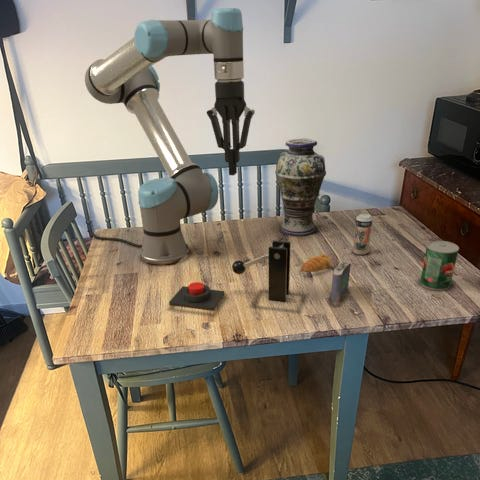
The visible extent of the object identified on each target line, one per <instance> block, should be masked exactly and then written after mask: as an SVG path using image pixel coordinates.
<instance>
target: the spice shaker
mask: <svg viewBox="0 0 480 480" xmlns="http://www.w3.org/2000/svg"><path fill="white" fill-rule="evenodd" d="M372 226H373V218H372V215H371V214H368V213H359V214H358V215H357V216H356V217H355V226H354V227H355V228H354V236H353V237H354V238H353V246H352V252H353V253H354V254H356V255H358V256H359V255H360V256H363V255H364V256H365V255H366V254H368V253H369V250H370V242H371V235H372V234H371V233H372Z"/></svg>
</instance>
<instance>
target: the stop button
mask: <svg viewBox="0 0 480 480" xmlns="http://www.w3.org/2000/svg"><path fill="white" fill-rule="evenodd" d="M204 285H205V284H204V283H203V282H201V281H195V282H194V281H193V282H192V283H190V284H188V286H187V287H189V293H190V294H193V295H197V294H202V293H204Z"/></svg>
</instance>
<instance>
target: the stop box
mask: <svg viewBox="0 0 480 480" xmlns="http://www.w3.org/2000/svg"><path fill="white" fill-rule="evenodd" d="M225 293H226V292H225V291H224V290H217V289H211V288H210V286H209V285H206V284H204V293H202V294H197V295H193V294H190V293H189V287H188V286H185V285H184V286H181V287H180V289H179V290H178V291H177V292H176V293H175V294H174V296H172V298H171V299H170V300H169V301H168V305H169V306H172V307H180V308H188V309H195V310H203V311H210V312H211V311H215V309H216V308H217V306H218V304H219V303H220V302H221V301H222V299H223V298H224V296H225Z"/></svg>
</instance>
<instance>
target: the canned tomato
mask: <svg viewBox="0 0 480 480" xmlns="http://www.w3.org/2000/svg"><path fill="white" fill-rule="evenodd" d="M459 250H460V247H459V246H458V245H457V244H456V243H454V242H451V241H446V240H432V241H429V242H427V244H426V249H425V253H424V259H423V264H422V269H421V274H420V279H419V284H420V285H421V286H422V287H423V288H425V289H428V290H432V291H446V290H448V289H449V288H451V284H452V280H453V277H454V272H455V267H456V262H457V258H458V255H459Z"/></svg>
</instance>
